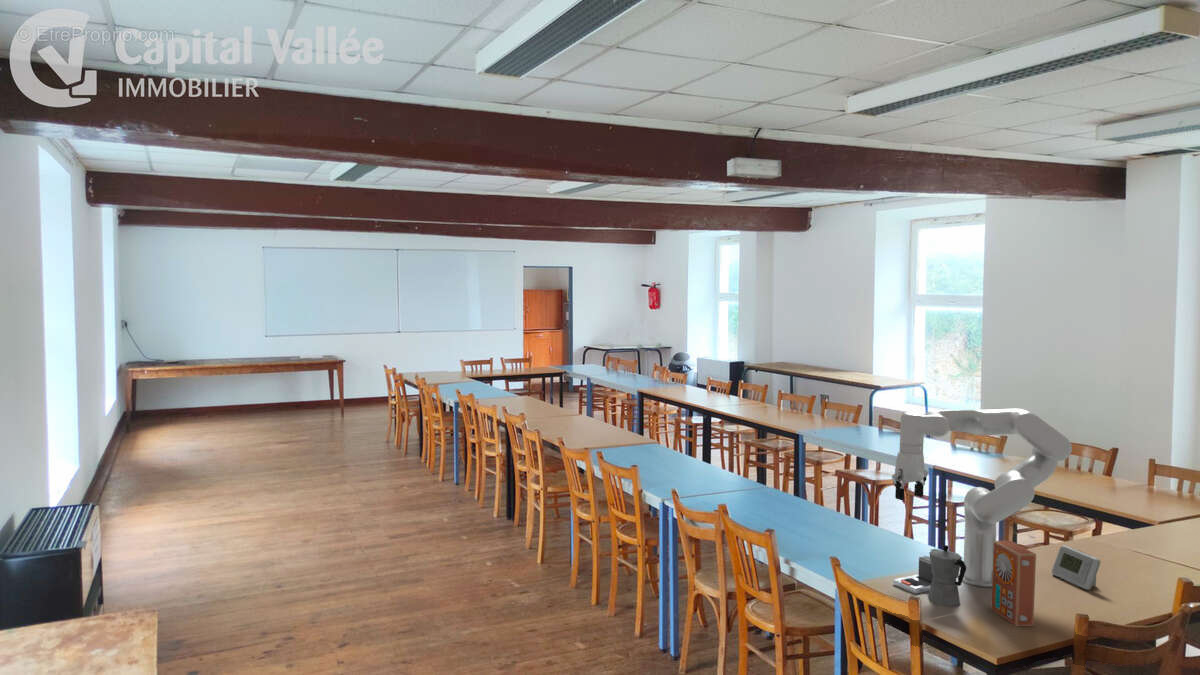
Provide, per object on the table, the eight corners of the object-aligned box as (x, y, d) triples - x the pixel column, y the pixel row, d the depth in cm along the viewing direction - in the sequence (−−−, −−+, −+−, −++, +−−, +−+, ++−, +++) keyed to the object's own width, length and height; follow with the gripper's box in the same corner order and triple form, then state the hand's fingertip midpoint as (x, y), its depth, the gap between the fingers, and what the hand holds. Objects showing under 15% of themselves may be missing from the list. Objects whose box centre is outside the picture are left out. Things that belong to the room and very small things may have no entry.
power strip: (926, 578, 261) (927, 570, 261) (949, 587, 253) (949, 579, 253) (893, 585, 254) (893, 578, 253) (915, 594, 246) (915, 587, 245)
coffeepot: (917, 594, 246) (919, 539, 245) (942, 592, 248) (944, 537, 247) (950, 614, 231) (952, 555, 230) (976, 611, 233) (978, 553, 232)
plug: (925, 580, 258) (926, 555, 257) (937, 585, 253) (938, 560, 253) (917, 582, 256) (918, 557, 256) (930, 587, 252) (930, 561, 251)
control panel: (1016, 628, 221) (986, 607, 236) (1039, 627, 222) (1007, 607, 236) (1019, 555, 220) (988, 539, 235) (1042, 555, 221) (1010, 539, 235)
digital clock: (1049, 573, 267) (1050, 543, 266) (1075, 574, 267) (1076, 544, 266) (1077, 591, 251) (1078, 559, 250) (1104, 592, 250) (1106, 560, 250)
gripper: (918, 444, 269) (916, 492, 270) (885, 448, 261) (883, 497, 262) (937, 448, 263) (935, 497, 264) (903, 452, 254) (901, 503, 255)
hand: (909, 497), depth 263 cm, fingers open, 9 cm apart
